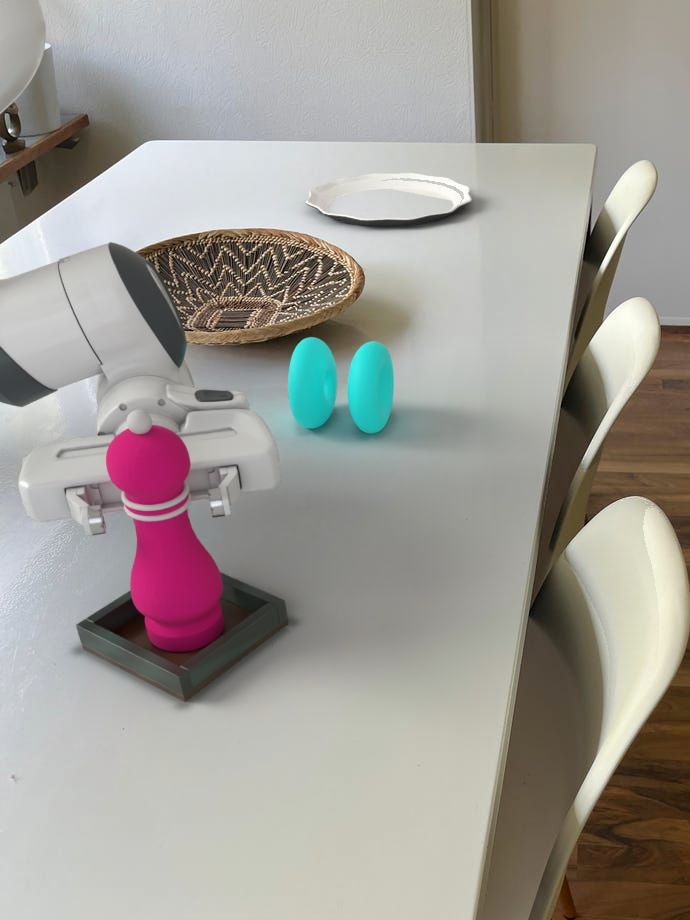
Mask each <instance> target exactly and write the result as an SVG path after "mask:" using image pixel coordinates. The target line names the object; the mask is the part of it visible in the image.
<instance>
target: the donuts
mask: <svg viewBox="0 0 690 920" xmlns="http://www.w3.org/2000/svg"><path fill="white" fill-rule="evenodd" d="M348 371H349V372H348V378H347V403H348V409H349V412H350V416H351V418H352V421H353V422H354V424H355V425H356V427H357V428H358V429H359V430H360V431H362V432H363V433H366V434H369V435H370V434H371V435H372V434H377V433H379V432H381V431H382V430H383V429H384V428H385V427H386V425H387V423H388V421H389V418H390V415H391V413H392V407H393V400H394V392H395V391H394V388H395V377H394V366H393V360H392V356H391V353H390V352H389V350H388V348H387V347H386V346H385V345H384V344H383V343H381V342H379V341H375V340H372V341H368V342H365V343H363V344H362V345H361V346H360V347H359V348H358V349H357V350H356V352H355V354H354V356H353V357H352V360H351V363H350V367H349V370H348ZM337 391H338V370H337V364H336V361H335V357H334V355H333V352H332V350H331V348H330V347H329V346H328V344H327V343H326V342H325V341H323V340H322V339H320V338H318V337H313V336H309V337H305V338H303V339H302V340H300V342H299V343H298V344H297V345H296V346H295V348H294V350H293V352H292V355H291V358H290V362H289V368H288V377H287V394H288V403H289V407H290V411H291V413H292V416H293V418H294V419H295V421H296V422H297V423H298V424H299V425H300V426H302V428H305V429H308V430H315V429H318V428H320V427H322V426H323V425H324V424H325V423H326V422H327V421H328V420H329V418H330V417H331V415H332V412H333V410H334V407H335V404H336V399H337Z"/></svg>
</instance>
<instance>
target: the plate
mask: <svg viewBox="0 0 690 920" xmlns="http://www.w3.org/2000/svg"><path fill="white" fill-rule="evenodd" d="M392 178H394V179H395V178H397V179H400V178H405V179H406V178H411V179H420V180H429V181H435V182H441V183H445V184H447V185H451V186H454V187H456V188H457V189H459V190H460V191H462V192H463V194H464V195H463V196H464V199H463V200H462V198H461V196H460V194H459V193H457V192H456V191H454V190H453V189H450V188H447V187H445V186H442V185H437V184H432V183H427V182H418V181H403V180H387V181H381V180H386V179H392ZM388 189H389V190H394V191H398V192H399V191H400V192H403V193H404V192H405V193H408V194H415V195H420V196H426V197H430V198H436V199H441V200H445V201H446V200H447V201H451V204H452V207H451V209H449V210H447V211H441V212H433V213H426V214H423V215H419V216H415V217H407V218H405V217H403V218H402V217H378V218H363V217H356V216H352V215H348V214H339V213H331V212H329V209H328V206H329V205H330V204H331V202H333V201H335V200H336V199H338V198H341V197H343V196H346V195H349V194H355V193H359V192H365V191H373V190H388ZM471 191H472V189H471V188H470V187H469V186H467V185H464V184H461V183H458V182H456V181H455V180H452V179H451V178H449V177H445V176H444V177H443V176H434V175H426V174H422V173H416V172H415V173H414V172H399V173H397V172H396V173H377V172H376V173H367V174H362V175H355V176H351V177H342V178H341V177H340V178H336V179H333V180H330V181H329V182H327V183H325V184H323V185H319V186H317V187H314V188H311V190H309V191H308V193H309V196H308V198H307V199H306V201H305V204H306V205H307V206H309V207H311V208H312V209H313V208H314V209H315V210H318V211H319V212H320V213H321V214H322V215H324V216H325V217H326V216H327V217H328V218H331V219H333V220H335V221H338V222H341V223H345V224H350V225H356V226H364V227H365V226H366V227H385V228H386V227H387V228H388V227H390V228H391V227H406V226H413V225H421V224H426V223H430V222H435V221H438V220H441V219H443V218H447V217H448V216H450V215H452V214H454V213H455V212H457V211H458V210H461V209H462V208H464V207H465V206H467V205H470V204H471V203H472V202H473V199H472V198H473V197H472V196H471V195H470V194H471ZM461 200H462V202H461ZM460 202H461V203H460ZM461 207H462V208H461Z"/></svg>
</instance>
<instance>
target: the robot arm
mask: <svg viewBox="0 0 690 920" xmlns="http://www.w3.org/2000/svg"><path fill="white" fill-rule="evenodd" d="M46 25H47V24H46V20H45V15H44V13H43V9H42V5H41V2H40V0H0V115H1V114H2V113H4V111H5V110H7V108H9V107H10V106H11V105H12V104H13V103H14V102H15V101H16V100H17V99H18V98H19V97H20V96H21V95H22V94H23V92H24V91H25V90H26V89H27V87H28V86H29V85H30V83H31V82H32V80H33V78H34V77H35V75H36V73H37V71H38V69H39V67H40V65H41V62H42V60H43V56H44V52H45V47H46V41H47V26H46ZM187 345H188V341H187V337H186V331H185V328H184V324H183V322H182V319H181V316H180V313H179V310H178V308H177V305H176V302H175V300H174V298H173V295H172V294H171V292H170V289H169V288H168V286H167V284H166V282H165V280H164V278H163V277H162V276H161V274H160V273H159V271H158V270H157V268H156V267H155V266H154V264H153V263H152V262H150V260H148V259H146V258H145V257H144V256H142V255H140V253H137V252H136V251H134V250H132V249H130V248H128V247H127V246H124V245H121V244H119V243H116V242H112V241H109V242H108V243H105V244H102V245H98V246H94V247H91V248H89V249H86V250H83V251H79V252H76V253H74V254H71V255H67V256H65V257H61V258H60V259H58V260H57V261H54V262H52V263H49V264H45V265H42V266H40V267H37V268H34V269H31V270H29V271H26V272H22V273H20V274H16V275H14V276H11V277H8V278H2V279H1V278H0V403H2V404H5V405H9V406H12V407H13V406H14V407H19V408H24V407H26V406H28V405H30V404H32V403H34V402H37V401H38V400H41V399H43V398H45V397H47V396H49V395H52V394H53V393H56V392H57V391H58V390H59V389H61V388H64V387H67V386H70V385H72V384H75V383H78V382H81V381H84V380H87V379H90V378H92V377H95V376H97V382H96V404H97V405H96V406H97V409H96V435H93V436H85V437H78V438H68V439H62V440H55V441H49V442H45V443H42V444H40V445H38V446H36V447H34V448H33V449H32V450H31V451H30V452H29V454H26V455H25V456H24V457H23V459H22V463H21V470H20V472H19V475H18V480H17V486H18V490H19V494H20V498H21V501H22V504H23V508H24V510H25V512H26V514H27V516H28V517H29V518H30V519H31V520H33V521H35V522H38V523H48V522H55V521H63V520H69V519H72V520H73V521H74V522H76V523H78V524H79V525H81V526H82V528H83V532H84V536H85V537H86V538H88V537H93V536H100V535H105V534H107V523H106V519H105V518H106V517H105V516H103V515H104V514H111V513H118V512H125V510H124V503H123V501H122V499H121V494H122V490H120V489H119V488H117V487H116V486H115V485H114V484H113V482H112V481H111V479H110V477H109V474H108V472H107V467H106V454H107V450H108V447H109V445H110V443H111V442H112V440H113V439H114V438H115V437H116V436H117V435H118V434H120V433H121V432H123V431H124V430H126V429H128V426H127V417H128V415H129V414H130V413H131V412H132V411H134V410H143V411H145V412H147V413H148V414H149V415H150V417H151V419H152V425H158V426H162V427H165V428H167V429H169V430H171V431H173V432H174V433H175V434H177V435H178V436H179V437H180V438H181V439H182V441H183V442H184V444H185V445H186V447H187V450H188V453H189V457H190V463H191V465H190V471H189V474H188V476H187V478H186V479H185V481H186V482H187V484H188V485H189V494H190V495H191V502H196V501H201V500H202V501H203V500H208V501H209V506H210V511H211V516H212V518H213V519H214V518H219V517H221V518H222V517H228V516H232V512H231V511H232V510H231V506H232V505H234V504H235V503H236V502H237V501H238V499H240V498H241V497H242V495H244V494H251V493H259V492H264V491H265V492H266V491H272V490H274V489H276V488H277V487H278V486H279V485H280V484H281V482H282V479H283V478H282V469H281V461H280V456H279V450H278V447H277V443H276V440H275V438H274V436H273V434H272V432H271V430H270V428H269V426H268V424H267V423H266V421H265V420H264V419H263V418H262V416H261V415H259V414H258V413H257V412H255V411H253V410H252V409H251V406H250V401H249V399H248V396H247V394H246V393H245V392H244V391H240V390H220V389H219V390H218V389H205V388H197V387H196V386H195V383H194V379H193V376H192V373H191V371H190V368H189V366H188V363H187V361H186V360H185V356H186V351H187Z"/></svg>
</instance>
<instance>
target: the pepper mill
mask: <svg viewBox="0 0 690 920" xmlns="http://www.w3.org/2000/svg"><path fill="white" fill-rule="evenodd" d="M127 426H128V429H126V430H124V431H123V432H121V433H120V434H118V435H117V436H116V437H115V438H114V439H113V440H112V442H111V443H110V445H109V447H108V450H107V454H106V467H107V472H108V474H109V477H110V479H111V481H112V482H113V484H114V485H115V486H116V487H117V488H119V489H120V490H122V494H121V499H122V501H123V503H124V510H125V511H124V512H125V514H126V515H127V516H128V517H130V518H131V519H132V521H133V524H134V527H135V535H136V550H135V555H134V560H133V563H132V567H131V571H130V582H129V584H130V585H129V586H130V587H129V589H130V590H131V595H132V600H133V603H134V605H135V607H136V608H137V609H138V611H139V612H140V613H142V614H143V615H144V616H145V625H146V629H147V633H148V637H149V640H150V641H151V642H152V643H153V644H154V645H155V646H156V647H158V648H160V649H162V650H166V651H170V652H188V651H193V650H196V649H200V648H202V647H205V646H207V645H209V644H210V643H212V642H213V641H214V640H215V639H217V638H218V637H219V635H220V634H221V632H222V631H223V628H224V619H223V614H222V609H221V605H220V603H219V602H218V601H219V599H220V597H221V594H222V591H223V583H222V578H221V575H220V572H221V571H220V569H219V567H218V565H217V563H216V561H215V559H214V558H213V556H212V555H211V553H210V552H209V551H208V550H207V549H206V547H205V546H204V545H203V544H202V542H201V541H200V539H199V538H198V537H197V534H196V533H195V531H194V529H193V526H192V523H191V519H190V517H189V510H188V508H189V507H190V506H191V503H192V501H191V495H190V494H189V485H188V484H187V482H186V481H185V479H186V478H187V476H188V474H189V471H190V465H191V463H190V457H189V453H188V450H187V447H186V445H185V444H184V442H183V441H182V439H181V438H180V437H179V436H178V435H177V434H175V433H174V432H173V431H171V430H169V429H167V428H165V427H162V426H158V425H152V419H151V417H150V415H149V414H148V413H147V412H145V411H143V410H134V411H132V412H131V413H130V414H129V415H128V417H127Z"/></svg>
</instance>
